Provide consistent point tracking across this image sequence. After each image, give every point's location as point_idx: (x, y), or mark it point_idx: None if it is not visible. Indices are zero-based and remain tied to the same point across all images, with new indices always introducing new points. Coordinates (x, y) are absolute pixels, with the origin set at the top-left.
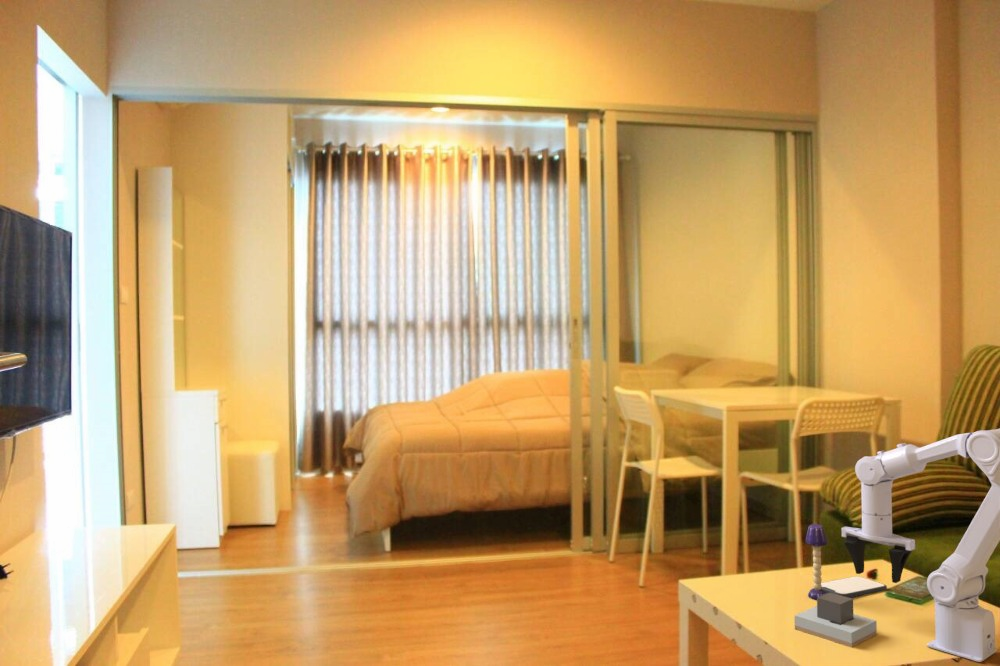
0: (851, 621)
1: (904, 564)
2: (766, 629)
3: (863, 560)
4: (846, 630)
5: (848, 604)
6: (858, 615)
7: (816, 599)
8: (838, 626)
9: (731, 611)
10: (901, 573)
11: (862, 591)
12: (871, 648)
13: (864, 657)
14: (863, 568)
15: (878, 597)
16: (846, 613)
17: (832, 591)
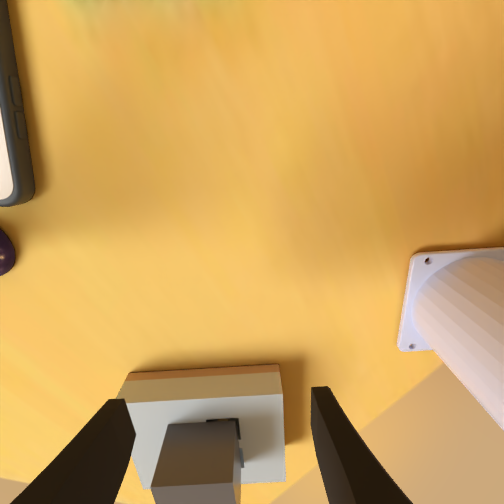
0: (245, 437)
1: (397, 489)
2: (127, 485)
3: (81, 464)
4: (271, 479)
5: (236, 487)
6: (230, 397)
7: (3, 274)
8: (246, 474)
9: (9, 472)
10: (350, 425)
11: (2, 75)
12: (310, 426)
13: None
14: (114, 418)
15: (63, 39)
16: (238, 468)
17: None
